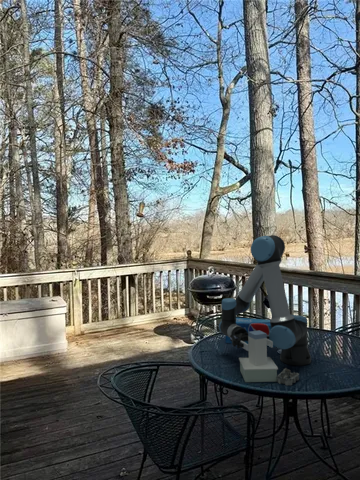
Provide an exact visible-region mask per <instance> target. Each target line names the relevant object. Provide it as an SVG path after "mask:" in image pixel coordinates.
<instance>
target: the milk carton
mask: <svg viewBox="0 0 360 480" xmlns="http://www.w3.org/2000/svg"><path fill="white" fill-rule="evenodd" d="M248 345H249V351H248V358H249V362H250V363H252V364H253V365H255V366H258V365H264V364H267V357H268V353H267V352H268V349H267V348H268V347H267V334H266V333H264V332H262V331H260V330H258V331H251V332H248Z"/></svg>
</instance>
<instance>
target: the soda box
mask: <svg viewBox="0 0 360 480" xmlns="http://www.w3.org/2000/svg"><path fill="white" fill-rule="evenodd" d="M270 320H271V319H261V318H260V319H259V318H246V317H236V325H238V326H240V327H242V328H244V329H245V330H246V331H247V332H251V331H258V330H260V331H262V332H264V333H266V334H267V336H269V332H270V330H271V325H270ZM269 340H270V338H269ZM244 342H245V343H247V344H248V341H244ZM225 344H232V341H230V338H229V337H228V336H226V335H225ZM232 345H233V344H232ZM275 347H276V346H274V345H273V348H275Z"/></svg>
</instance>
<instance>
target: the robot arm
mask: <svg viewBox="0 0 360 480" xmlns="http://www.w3.org/2000/svg"><path fill="white" fill-rule="evenodd" d="M285 250H286V244H285V241H284V240H283V238H281V237H280V236H278V235H276V234H273V235H272V234H271V235H262V236H259V237H256V238H255V239H253V241H252V243H251V246H250V253H251V256H252V258H254V259H255V260H256V265H255V267H254V268H253V270H252V272H251V273H250V275H249V276H248V278H247V279H246V282H245V283H244V285H243V286H242V288H241V289H240V292H239V293H238V294H237V296H236V297H235V298H232V297H228V298H227V297H226V298H223V299H222V300H221V321H220V322H219V324H218V330H219V332H220V333H222V335H223V336H225V337H226V336H228V337H229V338H230V341H232V347H233V348H234V347H236V346H237V349H240V348H242V349H244V351H247V352H249V345H248V344H247V343H245V342H244V341H248V332H247V331H246V330H245V329H244V328H242V327H240V326H238V325H236V318H237V315H239V314H241V313H245V312H246V311H247V310H249V308H250V306H251V302H252V301H253V298H254V297H255V295H256V294H257V293H258V292H259V289H260V288H261V286H262V285H263V283H264V287H265V291H266V296H267V300H268V305H269V309H270V313H271V319H269V320H270V325H271V330H270V332H269V336H267V346H269V347H268V348H274V347H273V345H274V346H276V347H277V348H276V349H279V350H280V354H279V359H280V360H279V361H281V362H282V363H284V364H286V365H291V366H308V365H309V364H311V363H312V355H311V353H310V350H309V347H308V323H309V322H308V318H307V317H306V316H303V315H298V314H291V312H290V308H289V303H288V298H287V294H286V289H285V285H284V281H283V280H284V279H283V276H282V271H281V268H280V267H281V265H280V264H281V263H282V256H283V255H284V253H285ZM269 338H270V340H269Z"/></svg>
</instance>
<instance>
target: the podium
mask: <svg viewBox="0 0 360 480" xmlns="http://www.w3.org/2000/svg"><path fill="white" fill-rule="evenodd" d="M238 361H239V370H240V373H241V375H242V378H243V380H244V382H245V383H265V382H266V383H268V382H270V383H272V382H275V383H276V382H277V378H276V377H277V376H278V370H279V367H278V366H277V364H276V363H275V361H274V360H273V359H272V357H271V356H267V364H264V365H258V366H255V365H253V364H252V363H250V362H249V357H238ZM277 383H278V382H277Z"/></svg>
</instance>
